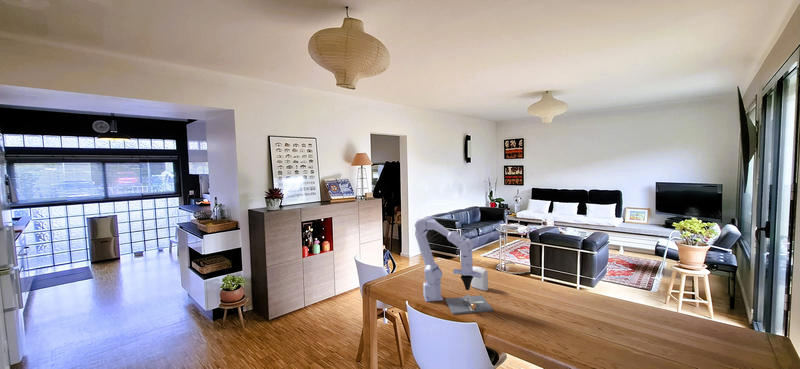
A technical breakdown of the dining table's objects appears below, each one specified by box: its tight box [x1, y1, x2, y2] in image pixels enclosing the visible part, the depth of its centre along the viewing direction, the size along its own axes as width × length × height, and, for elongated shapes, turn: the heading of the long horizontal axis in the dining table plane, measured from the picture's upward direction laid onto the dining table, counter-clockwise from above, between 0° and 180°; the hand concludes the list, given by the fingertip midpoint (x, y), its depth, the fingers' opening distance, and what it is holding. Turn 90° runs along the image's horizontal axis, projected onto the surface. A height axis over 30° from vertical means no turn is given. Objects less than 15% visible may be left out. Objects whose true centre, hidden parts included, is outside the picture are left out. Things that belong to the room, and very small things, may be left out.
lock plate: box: [444, 295, 494, 315], centre depth 161 cm, size 20×16×2 cm
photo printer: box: [470, 266, 489, 292], centre depth 181 cm, size 10×4×12 cm, turn 40°
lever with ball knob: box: [462, 294, 476, 310], centre depth 157 cm, size 13×5×2 cm, turn 5°
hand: (467, 289), depth 160 cm, fingers closed
